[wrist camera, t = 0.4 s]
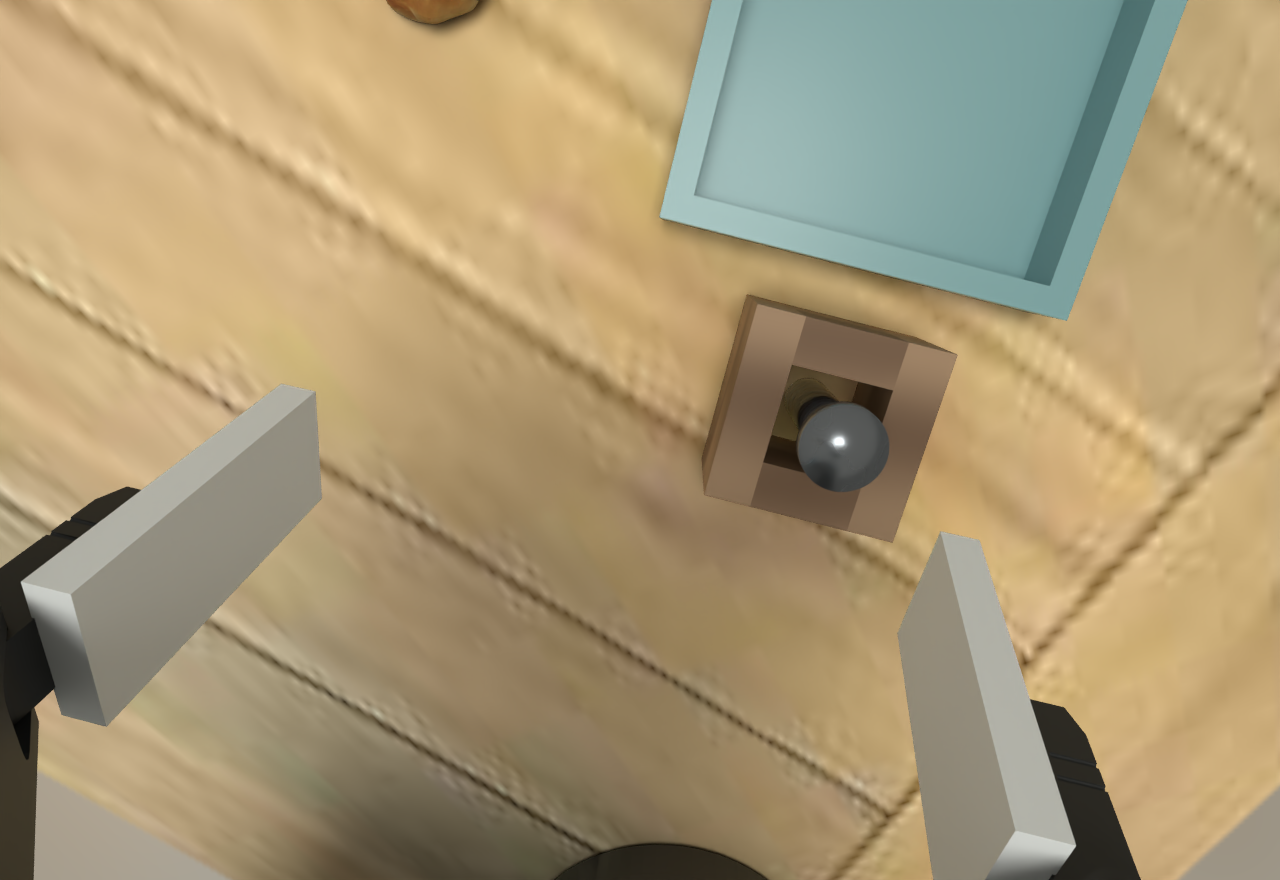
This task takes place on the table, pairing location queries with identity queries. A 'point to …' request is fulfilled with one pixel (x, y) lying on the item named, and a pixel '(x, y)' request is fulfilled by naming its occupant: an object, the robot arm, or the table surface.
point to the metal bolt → (835, 438)
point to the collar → (887, 386)
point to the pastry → (432, 9)
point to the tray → (921, 135)
